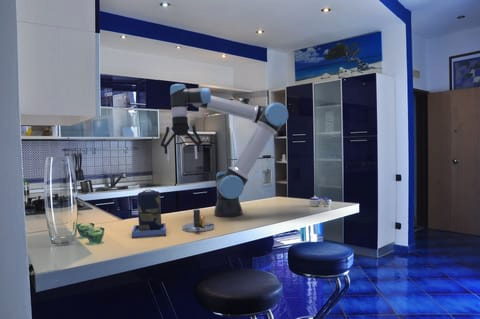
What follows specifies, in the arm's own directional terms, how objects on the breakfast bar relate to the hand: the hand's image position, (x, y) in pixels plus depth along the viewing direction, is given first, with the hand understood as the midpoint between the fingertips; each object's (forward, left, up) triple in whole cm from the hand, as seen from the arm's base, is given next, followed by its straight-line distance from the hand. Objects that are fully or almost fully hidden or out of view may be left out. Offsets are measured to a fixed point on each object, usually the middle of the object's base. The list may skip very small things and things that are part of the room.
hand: (182, 159), depth 182 cm
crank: (-4, +23, -29) cm, 37 cm away
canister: (+16, +21, -30) cm, 40 cm away
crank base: (-5, +19, -31) cm, 36 cm away
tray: (+16, +21, -31) cm, 40 cm away
